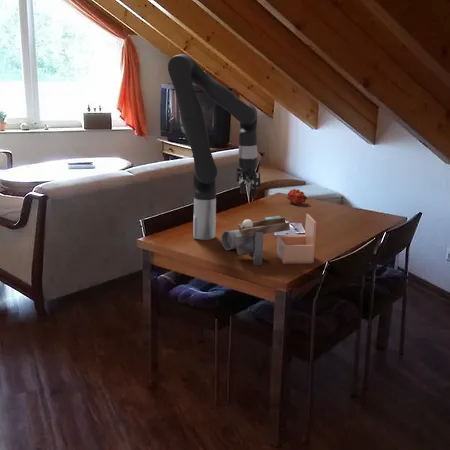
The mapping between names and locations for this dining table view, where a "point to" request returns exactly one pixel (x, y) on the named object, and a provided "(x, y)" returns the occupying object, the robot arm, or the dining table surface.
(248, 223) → the ball
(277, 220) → the lever board
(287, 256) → the cup
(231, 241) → the ceramic mug
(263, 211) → the dining table surface
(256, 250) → the pivot stand
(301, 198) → the dragon fruit
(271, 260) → the dining table surface
